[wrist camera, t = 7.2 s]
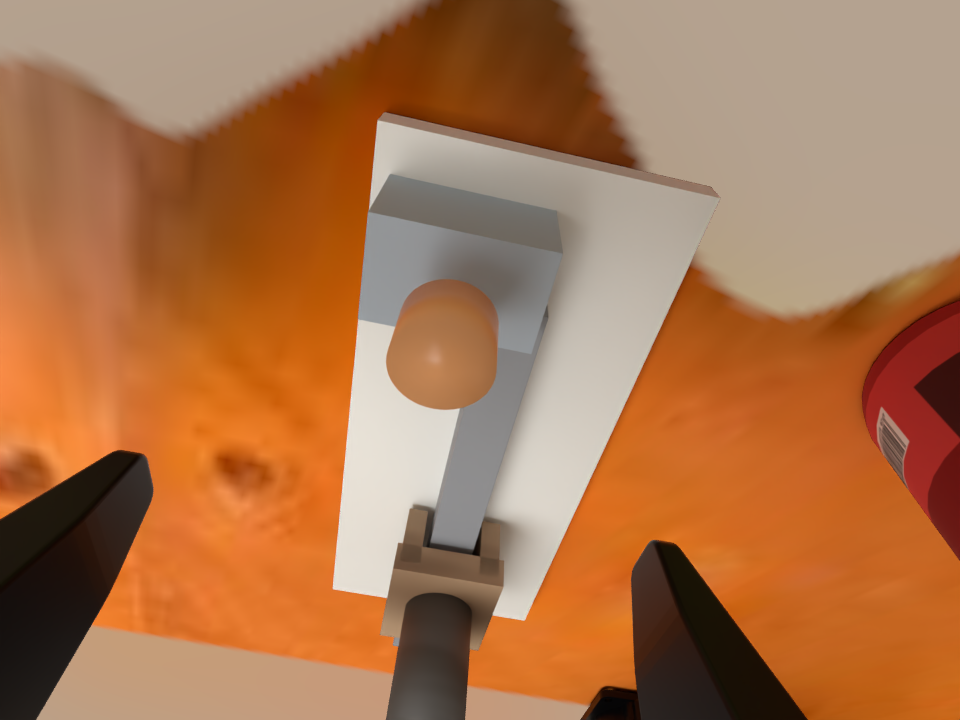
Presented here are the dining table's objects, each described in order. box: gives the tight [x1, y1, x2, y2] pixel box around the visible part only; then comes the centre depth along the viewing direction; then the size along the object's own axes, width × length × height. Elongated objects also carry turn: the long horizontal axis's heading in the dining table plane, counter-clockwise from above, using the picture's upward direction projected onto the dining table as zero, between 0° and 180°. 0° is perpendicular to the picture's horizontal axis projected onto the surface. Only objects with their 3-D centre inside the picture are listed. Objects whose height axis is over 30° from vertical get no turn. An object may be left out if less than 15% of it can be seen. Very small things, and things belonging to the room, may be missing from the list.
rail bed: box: [333, 112, 720, 646], centre depth 22 cm, size 23×10×4 cm, turn 168°
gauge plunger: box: [386, 279, 499, 410], centre depth 13 cm, size 2×2×2 cm
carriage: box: [380, 508, 504, 720], centre depth 23 cm, size 5×4×8 cm
